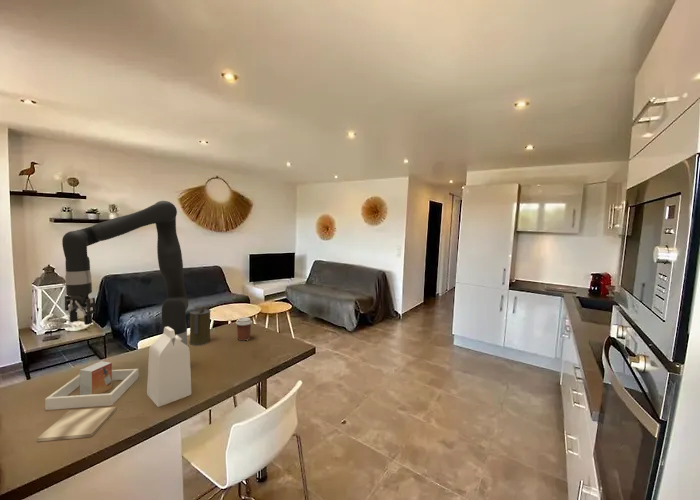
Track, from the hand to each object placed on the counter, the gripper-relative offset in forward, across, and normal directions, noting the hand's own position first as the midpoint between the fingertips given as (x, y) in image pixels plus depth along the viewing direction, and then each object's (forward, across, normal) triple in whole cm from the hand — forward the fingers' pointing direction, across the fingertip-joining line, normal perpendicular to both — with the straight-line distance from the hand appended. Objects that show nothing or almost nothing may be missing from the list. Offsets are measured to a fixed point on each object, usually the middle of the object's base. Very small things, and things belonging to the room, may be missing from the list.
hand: (80, 322), depth 119 cm
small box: (+26, -10, +2) cm, 28 cm away
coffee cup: (+27, -25, -66) cm, 76 cm away
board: (+26, -25, +16) cm, 39 cm away
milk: (+26, -36, -8) cm, 45 cm away
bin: (+26, -10, +2) cm, 27 cm away
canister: (+26, -6, -53) cm, 59 cm away
